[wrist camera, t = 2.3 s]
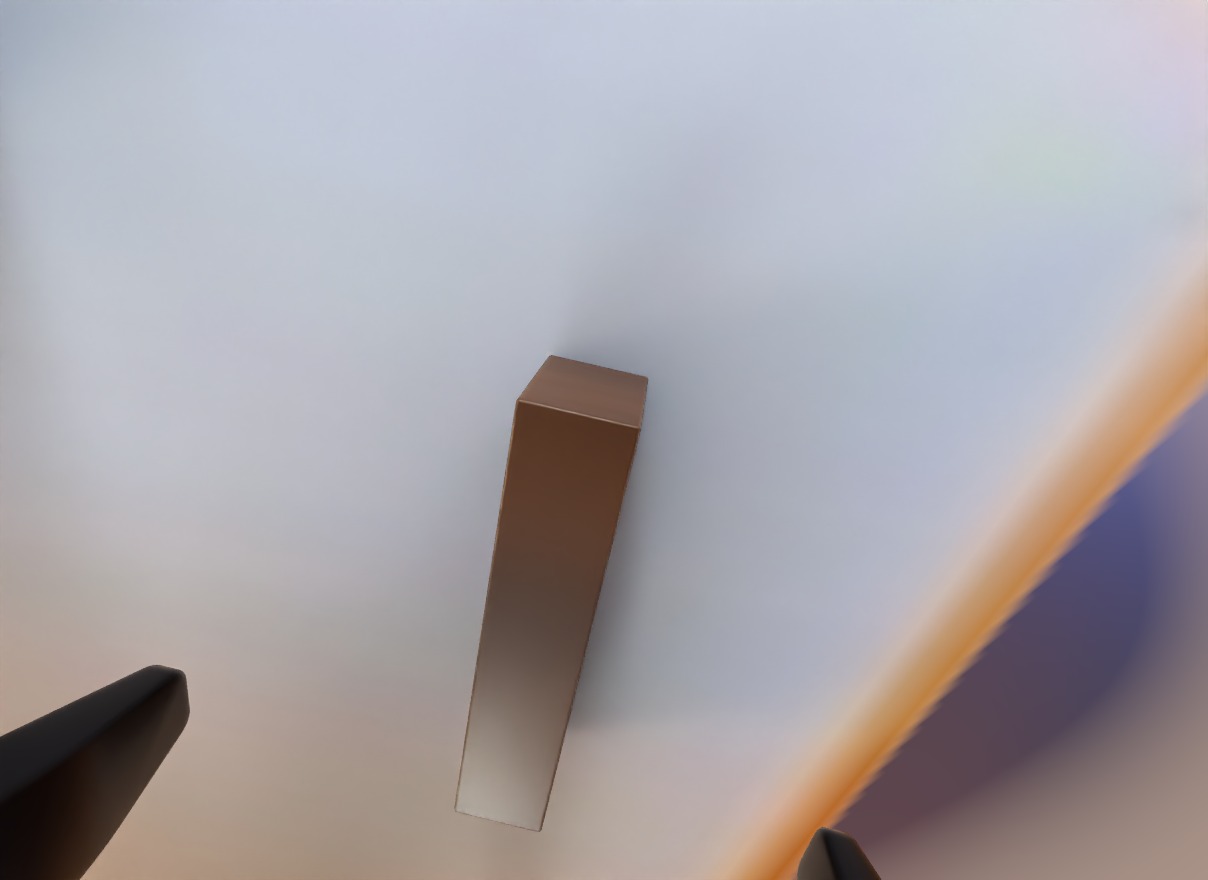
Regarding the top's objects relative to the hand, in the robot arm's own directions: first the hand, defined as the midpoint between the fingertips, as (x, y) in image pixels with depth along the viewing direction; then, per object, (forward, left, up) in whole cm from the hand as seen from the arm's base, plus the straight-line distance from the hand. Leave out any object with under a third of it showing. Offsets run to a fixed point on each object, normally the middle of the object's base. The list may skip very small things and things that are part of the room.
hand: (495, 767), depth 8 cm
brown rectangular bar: (0, 0, -4) cm, 5 cm away
